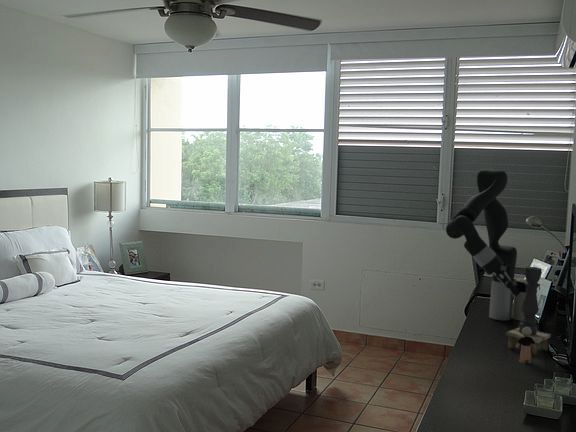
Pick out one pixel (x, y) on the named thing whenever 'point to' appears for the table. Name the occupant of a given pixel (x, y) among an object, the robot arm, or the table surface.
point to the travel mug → (519, 299)
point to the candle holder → (530, 299)
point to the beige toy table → (537, 338)
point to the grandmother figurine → (526, 345)
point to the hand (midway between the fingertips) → (516, 292)
